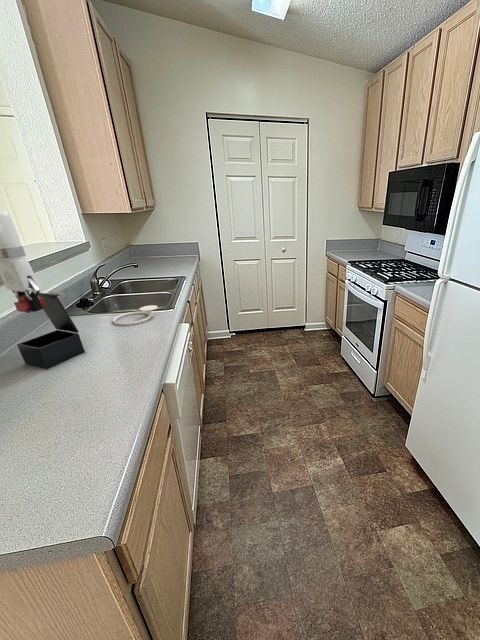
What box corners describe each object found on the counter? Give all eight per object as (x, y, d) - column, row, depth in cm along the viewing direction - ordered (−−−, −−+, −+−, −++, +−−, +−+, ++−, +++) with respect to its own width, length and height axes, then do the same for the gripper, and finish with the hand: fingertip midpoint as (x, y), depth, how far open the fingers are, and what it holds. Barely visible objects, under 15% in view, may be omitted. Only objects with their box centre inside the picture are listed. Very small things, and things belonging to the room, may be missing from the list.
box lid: (54, 295, 112) (67, 288, 116) (32, 292, 116) (45, 286, 119) (77, 332, 121) (88, 325, 125) (56, 329, 125) (67, 322, 129)
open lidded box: (47, 369, 113) (38, 348, 110) (25, 364, 117) (16, 344, 114) (85, 352, 125) (78, 333, 122) (64, 348, 129) (57, 329, 126)
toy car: (25, 314, 108) (19, 299, 106) (18, 312, 109) (11, 297, 107) (47, 307, 114) (41, 293, 111) (39, 306, 115) (33, 292, 113)
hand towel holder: (111, 308, 160) (156, 302, 167) (113, 316, 162) (158, 310, 169) (109, 318, 146) (159, 311, 154) (112, 327, 148) (161, 320, 156)
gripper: (-21, 254, 103) (4, 310, 111) (13, 256, 97) (37, 316, 105) (5, 250, 109) (28, 304, 117) (39, 252, 103) (60, 308, 112)
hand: (32, 309), depth 111 cm, fingers closed on toy car, 4 cm apart
